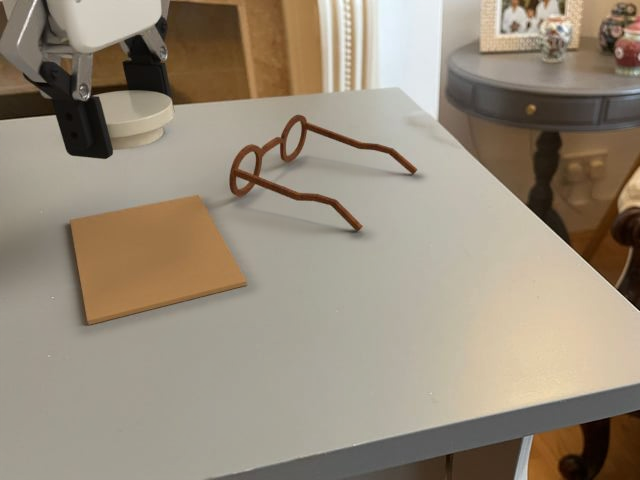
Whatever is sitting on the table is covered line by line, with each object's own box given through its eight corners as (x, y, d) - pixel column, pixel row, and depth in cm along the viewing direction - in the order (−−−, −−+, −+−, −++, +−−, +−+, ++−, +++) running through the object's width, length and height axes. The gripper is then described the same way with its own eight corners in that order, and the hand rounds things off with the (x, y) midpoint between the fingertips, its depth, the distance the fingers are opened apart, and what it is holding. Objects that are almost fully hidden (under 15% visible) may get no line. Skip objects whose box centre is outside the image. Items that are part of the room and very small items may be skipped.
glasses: (302, 154, 68) (298, 107, 66) (417, 174, 64) (419, 125, 61) (229, 206, 59) (221, 154, 56) (360, 234, 54) (358, 179, 51)
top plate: (49, 150, 44) (39, 119, 43) (110, 115, 50) (103, 87, 49) (143, 160, 43) (136, 127, 42) (195, 123, 49) (190, 93, 47)
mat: (70, 223, 56) (69, 219, 56) (199, 198, 60) (198, 194, 60) (88, 325, 44) (86, 320, 44) (247, 285, 48) (246, 280, 48)
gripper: (88, -166, 44) (144, 94, 54) (-140, -172, 30) (-9, 179, 40) (188, -168, 43) (227, 100, 53) (-4, -175, 29) (98, 191, 39)
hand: (124, 132), depth 46 cm, fingers closed on top plate, 7 cm apart
